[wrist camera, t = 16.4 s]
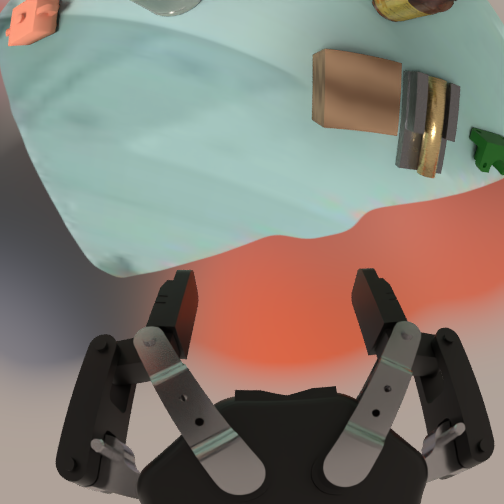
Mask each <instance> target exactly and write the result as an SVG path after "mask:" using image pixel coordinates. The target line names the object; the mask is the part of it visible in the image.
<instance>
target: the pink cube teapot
mask: <svg viewBox="0 0 504 504" xmlns="http://www.w3.org/2000/svg"><path fill="white" fill-rule="evenodd" d="M59 7H60V5H59V0H26V1H25V2H23V3H21V4H20V5H18V6H17V7H15V8H14V9H13V13H12V19H11V25H10V28H9V29H7V30H6V36H9V43H8V46H16V45H30V44H32V43H34V42H36V41H38V40H40V39H42V38H45V37H47V36H49V35H51V34H53V33H55V30H56V27H57V22H56V20H57V13H58V9H59Z"/></svg>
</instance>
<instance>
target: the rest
mask: <svg viewBox="0 0 504 504" xmlns="http://www.w3.org/2000/svg"><path fill="white" fill-rule="evenodd" d="M428 80H429V75H427V74H424V73H421V72H417V71H404V77H403V99H402V112H401V123H400V133H399V141H398V149H397V156H396V163H395V165H396V166H398V167H399V168H406V169H413V170H417V169H418V163H419V157H420V150H421V144H422V136H423V134H424V130H425V121H426V111H427V99H428ZM459 98H460V86H457V85H455V84H452V83H448V82H447V86H446V102H445V114H444V123H443V131H442V139H441V146H440V152H439V158H438V163H437V169H436V173H440V174H441V170H442V165H443V160H444V154H445V148H446V141H447V140H449V141H453V142H455V136H456V129H457V120H458V111H459Z"/></svg>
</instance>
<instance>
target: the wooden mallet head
mask: <svg viewBox="0 0 504 504" xmlns="http://www.w3.org/2000/svg"><path fill="white" fill-rule="evenodd" d="M401 71H402V63H399V62H395V61H391V60H387V59H383V58H378V57H373V56H369V55H364V54H358V53H352V52H346V51H340V50H332V49H323V50H321V51H319V52H317V53H315V54H313V95H312V120H313V121H315V122H316V123H318V124H319V125H321V126H322V127H324V128H337V129H348V130H357V131H366V132H374V133H381V134H388V135H394V136H397V132H398V122H399V110H400V96H401Z"/></svg>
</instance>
